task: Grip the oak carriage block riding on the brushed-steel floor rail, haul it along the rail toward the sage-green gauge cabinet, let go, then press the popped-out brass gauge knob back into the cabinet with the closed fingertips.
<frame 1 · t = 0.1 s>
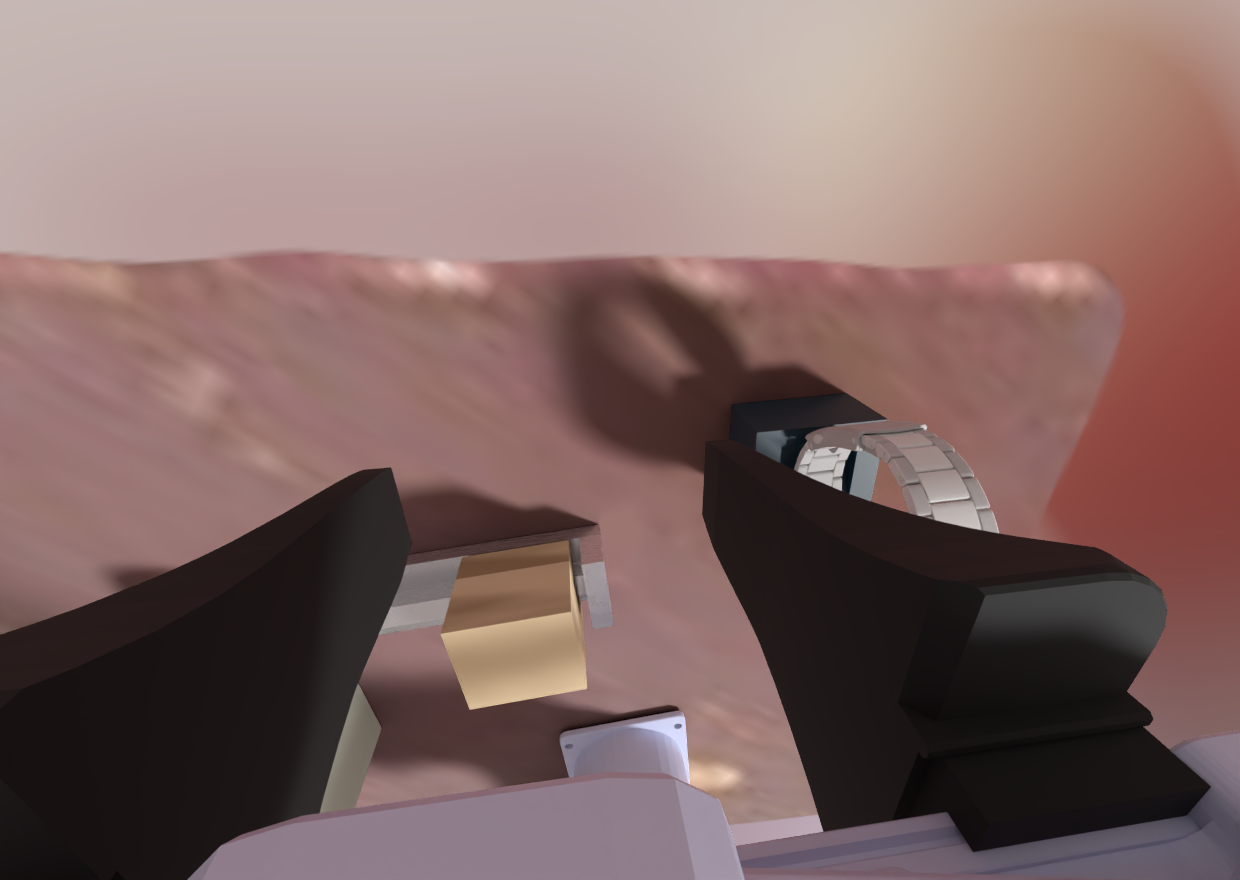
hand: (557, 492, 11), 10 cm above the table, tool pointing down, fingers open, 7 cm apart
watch: (784, 440, 23), on the table
gauge cabinet: (309, 704, 27), on the table
rail: (452, 580, 24), on the table
carriage: (521, 620, 21), point 3 cm above the table, slide at 0.0 cm
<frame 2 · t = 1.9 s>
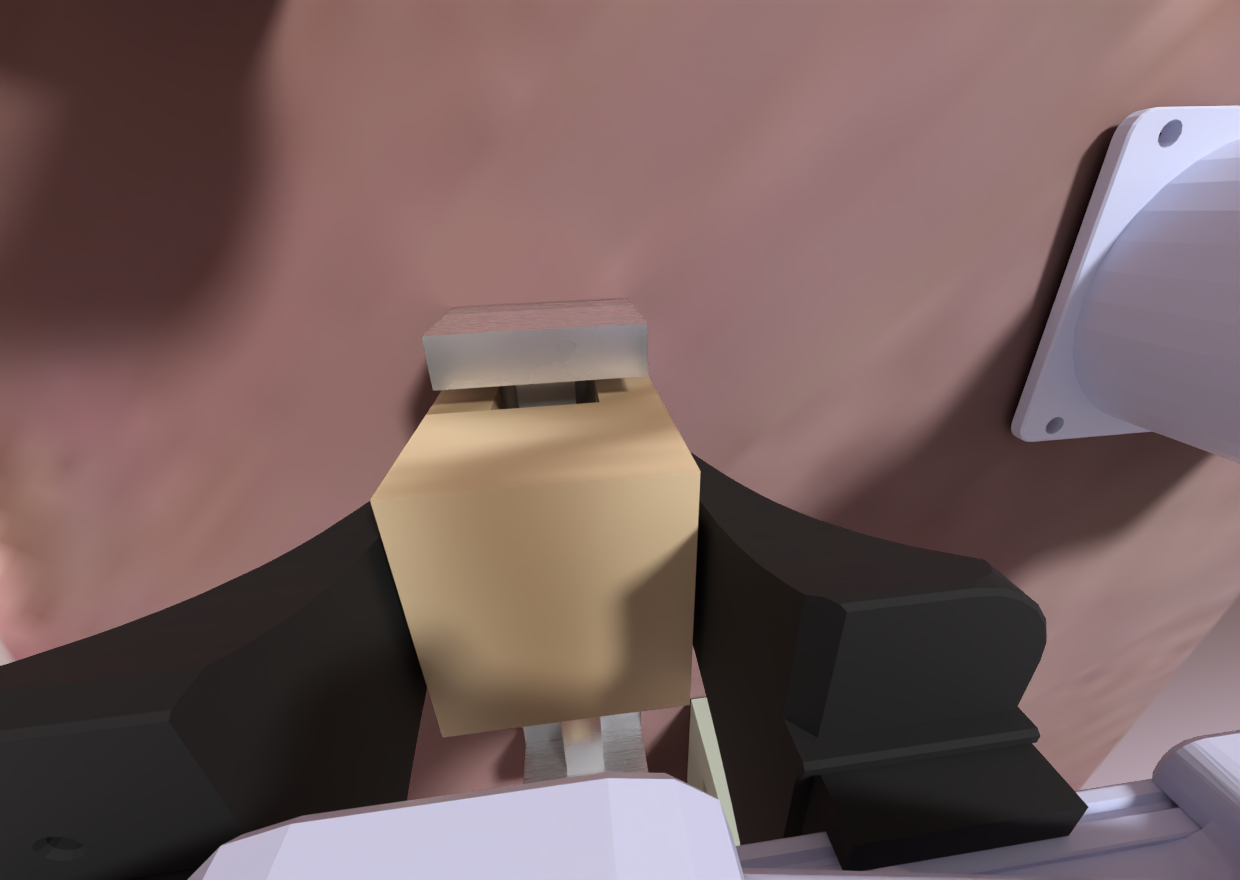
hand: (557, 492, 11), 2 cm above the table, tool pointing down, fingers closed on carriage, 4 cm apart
gauge cabinet: (761, 739, 19), on the table
rail: (568, 567, 14), on the table
carriage: (556, 534, 10), point 3 cm above the table, slide at 0.0 cm, touching gripper
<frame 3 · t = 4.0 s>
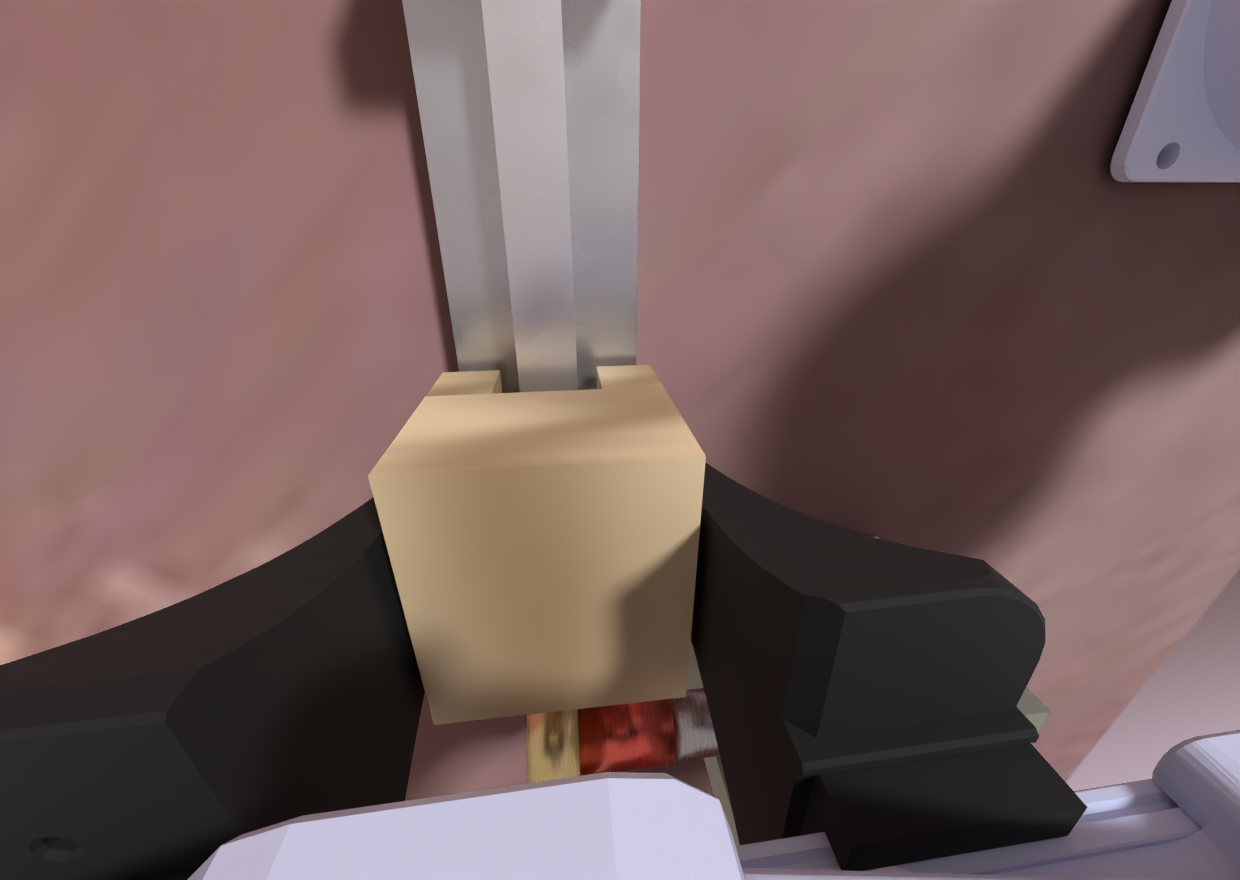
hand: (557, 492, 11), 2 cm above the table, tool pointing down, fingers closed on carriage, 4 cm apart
gauge cabinet: (774, 614, 16), on the table
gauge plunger: (661, 726, 13), point 3 cm above the table, slide at 3.5 cm
rail: (548, 335, 11), on the table
carriage: (555, 522, 10), point 3 cm above the table, slide at 6.7 cm, touching gripper
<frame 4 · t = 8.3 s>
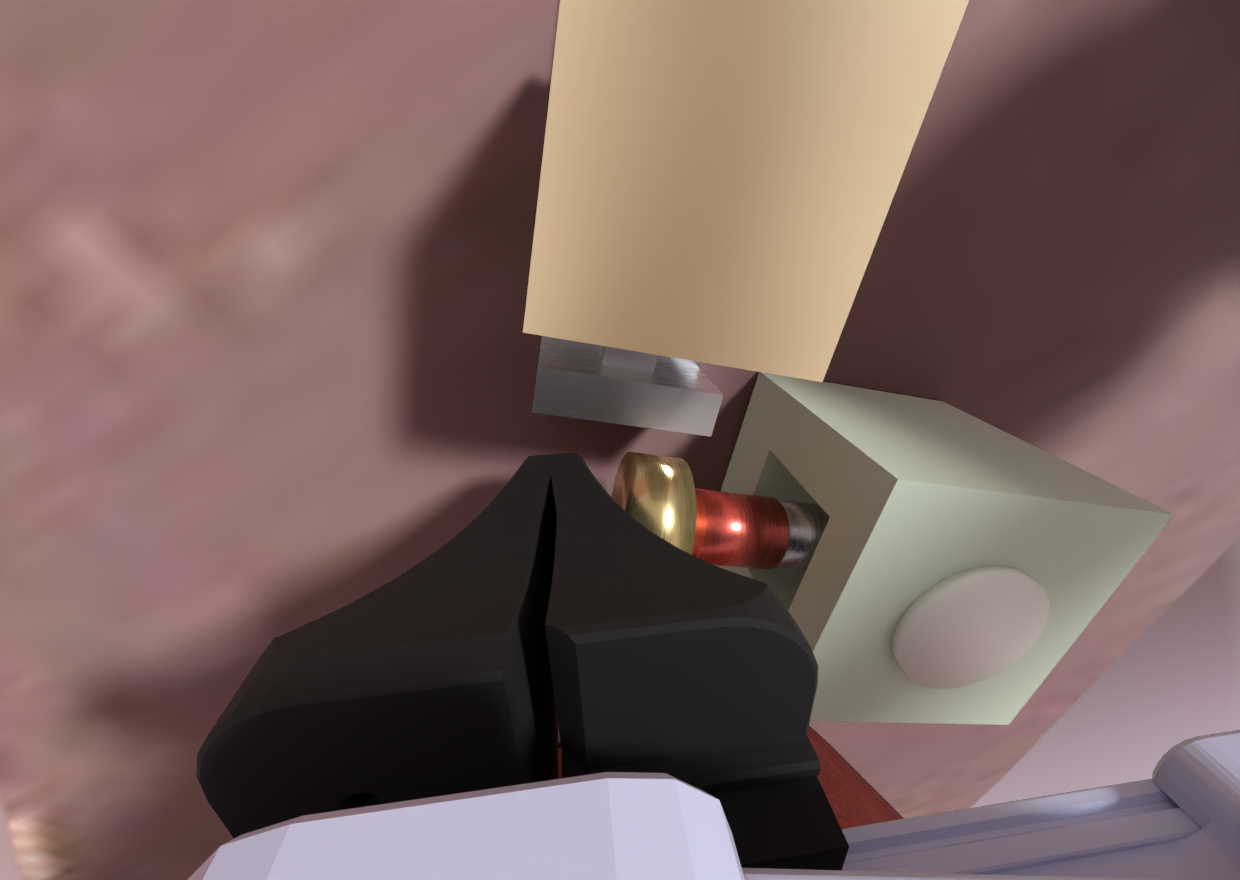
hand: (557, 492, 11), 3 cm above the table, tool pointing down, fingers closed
plant pot: (657, 805, 22), on the table
gauge cabinet: (817, 476, 15), on the table
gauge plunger: (761, 532, 11), point 3 cm above the table, slide at 2.2 cm, touching gripper
rail: (681, 26, 10), on the table
carriage: (687, 175, 8), point 3 cm above the table, slide at 6.7 cm
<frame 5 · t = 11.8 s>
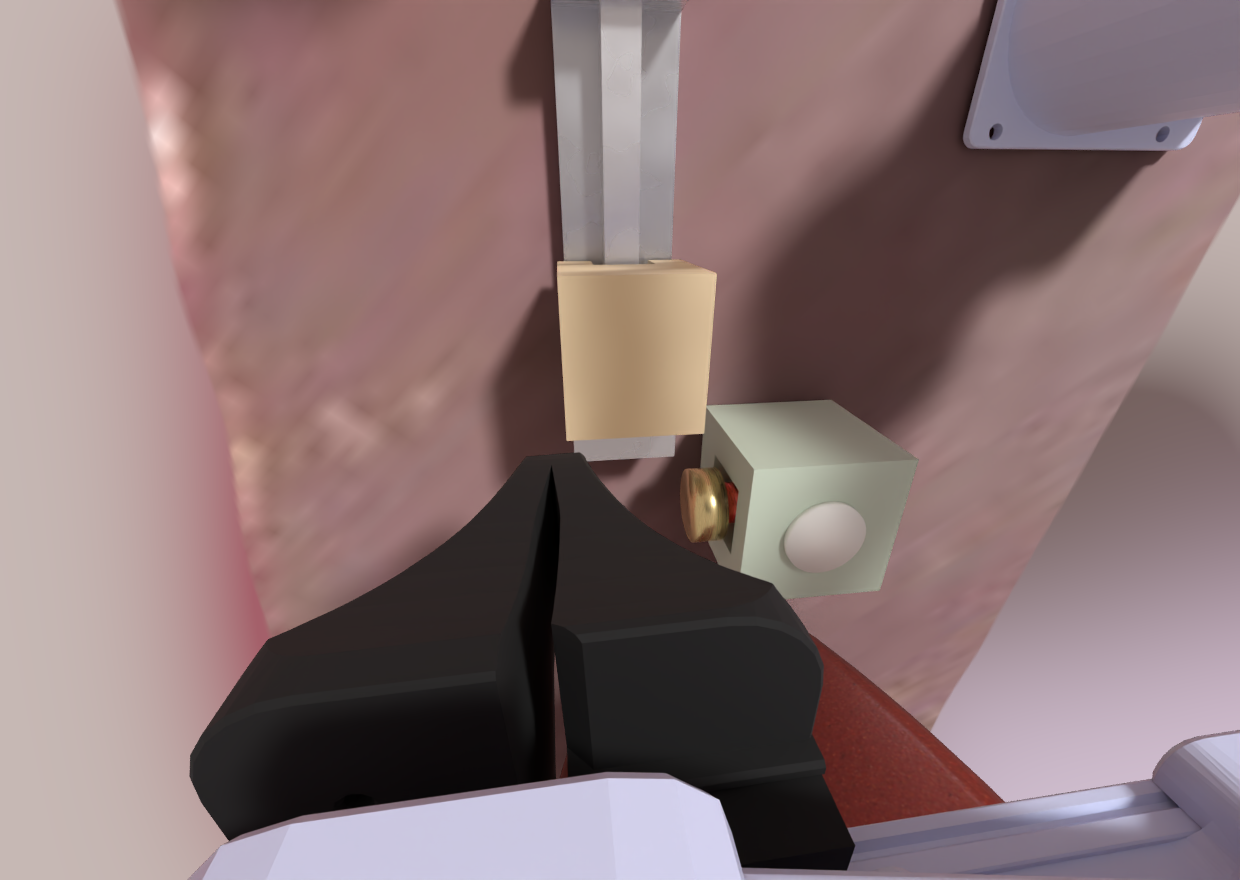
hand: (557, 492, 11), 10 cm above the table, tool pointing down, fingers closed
plant pot: (710, 704, 31), on the table
gauge cabinet: (761, 460, 23), on the table
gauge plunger: (767, 499, 20), point 3 cm above the table, slide at -0.1 cm
rail: (615, 245, 18), on the table
carriage: (627, 343, 16), point 3 cm above the table, slide at 6.7 cm
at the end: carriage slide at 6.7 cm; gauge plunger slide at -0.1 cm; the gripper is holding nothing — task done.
